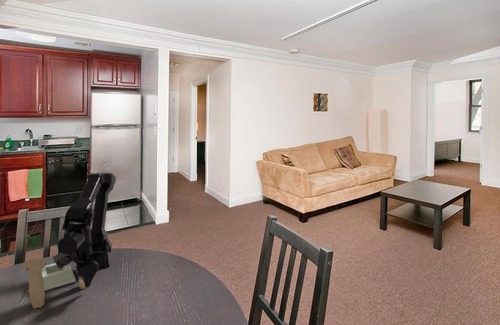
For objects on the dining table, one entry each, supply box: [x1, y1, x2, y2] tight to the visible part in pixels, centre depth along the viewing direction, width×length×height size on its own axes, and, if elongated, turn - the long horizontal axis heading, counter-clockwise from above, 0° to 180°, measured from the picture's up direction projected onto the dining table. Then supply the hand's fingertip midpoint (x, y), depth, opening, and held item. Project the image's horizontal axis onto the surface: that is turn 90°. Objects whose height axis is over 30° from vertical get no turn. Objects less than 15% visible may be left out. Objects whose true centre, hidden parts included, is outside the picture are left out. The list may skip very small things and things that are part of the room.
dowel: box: [78, 276, 91, 290], centre depth 103 cm, size 3×3×8 cm
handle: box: [22, 258, 47, 309], centre depth 91 cm, size 5×6×15 cm
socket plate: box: [42, 262, 77, 291], centre depth 106 cm, size 11×11×4 cm
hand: (84, 281), depth 103 cm, fingers open, 9 cm apart
